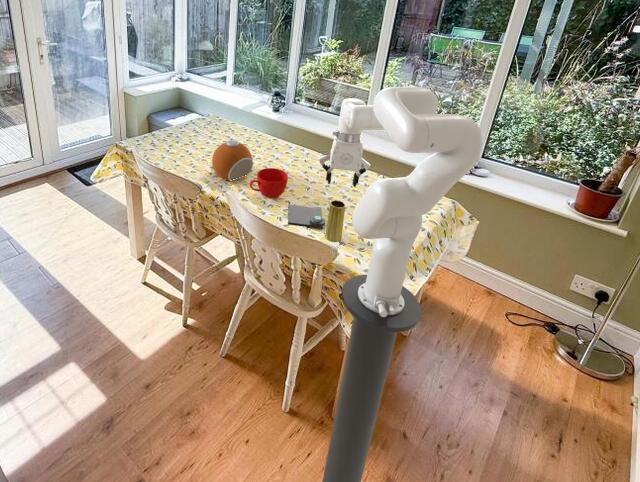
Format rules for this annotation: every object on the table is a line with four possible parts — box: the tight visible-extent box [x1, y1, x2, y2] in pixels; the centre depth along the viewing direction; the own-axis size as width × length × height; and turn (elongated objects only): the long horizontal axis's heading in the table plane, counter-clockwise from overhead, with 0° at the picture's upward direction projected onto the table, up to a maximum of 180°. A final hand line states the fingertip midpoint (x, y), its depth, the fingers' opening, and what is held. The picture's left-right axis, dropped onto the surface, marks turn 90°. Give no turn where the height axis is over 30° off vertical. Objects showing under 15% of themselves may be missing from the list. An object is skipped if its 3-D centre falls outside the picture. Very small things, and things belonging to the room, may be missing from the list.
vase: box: [324, 199, 347, 243], centre depth 147 cm, size 6×6×14 cm
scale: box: [287, 204, 326, 230], centre depth 161 cm, size 15×14×2 cm
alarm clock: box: [211, 139, 254, 181], centre depth 192 cm, size 19×18×17 cm
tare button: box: [314, 216, 323, 222], centre depth 156 cm, size 3×3×1 cm
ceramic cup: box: [249, 167, 289, 199], centre depth 176 cm, size 13×17×10 cm
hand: (341, 183), depth 142 cm, fingers open, 8 cm apart
